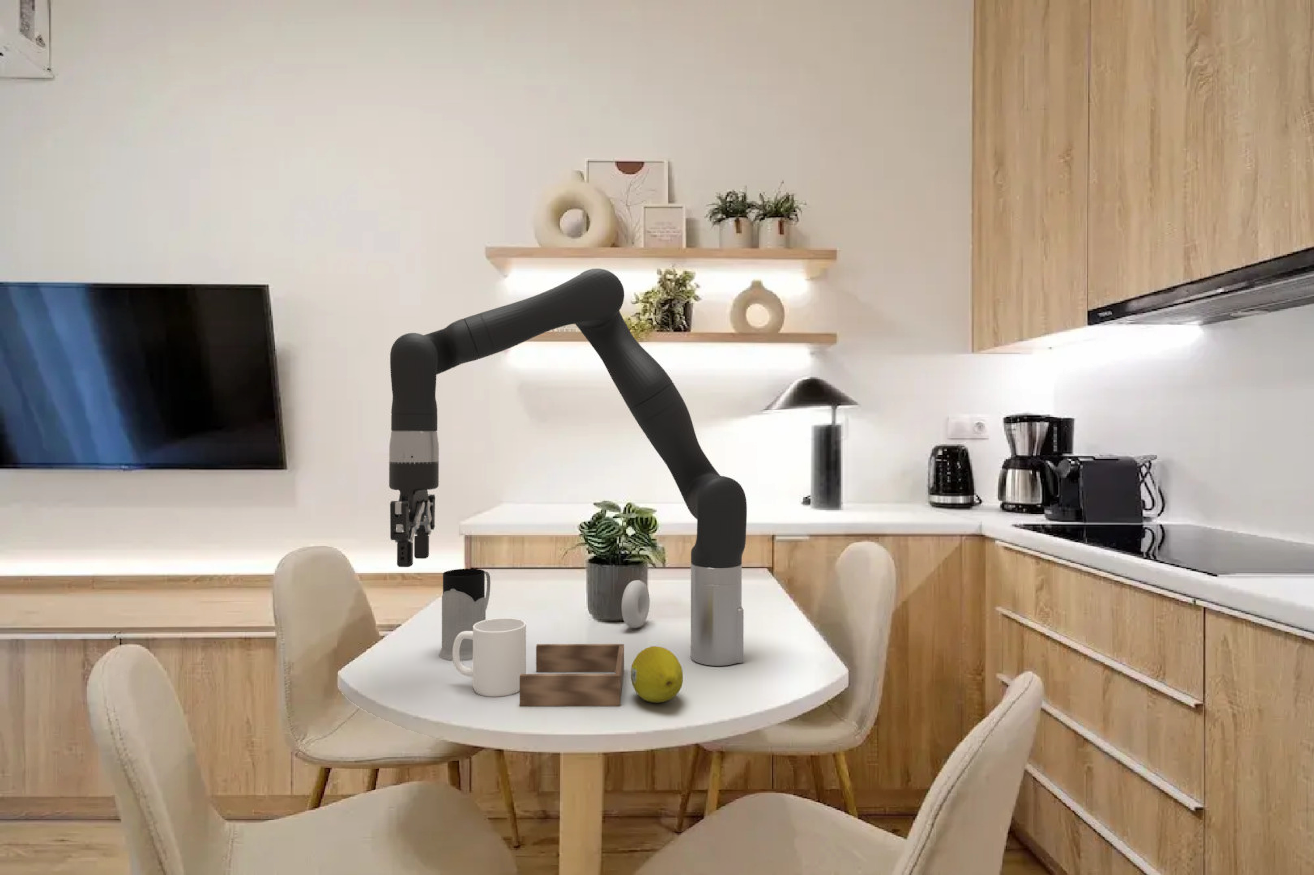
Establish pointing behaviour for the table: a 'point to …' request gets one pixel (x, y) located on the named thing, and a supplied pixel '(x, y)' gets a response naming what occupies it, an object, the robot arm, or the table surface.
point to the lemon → (656, 674)
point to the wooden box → (574, 676)
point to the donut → (635, 604)
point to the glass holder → (462, 608)
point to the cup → (495, 656)
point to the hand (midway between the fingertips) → (413, 562)
